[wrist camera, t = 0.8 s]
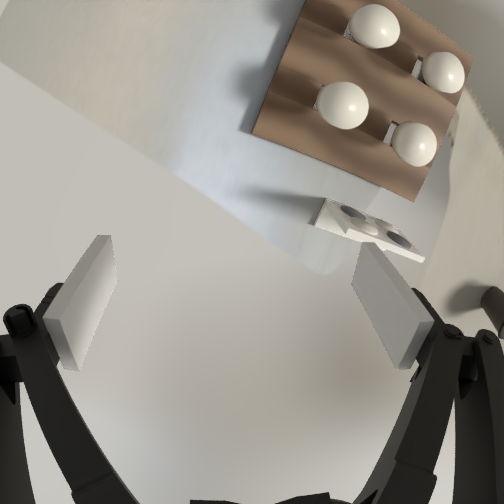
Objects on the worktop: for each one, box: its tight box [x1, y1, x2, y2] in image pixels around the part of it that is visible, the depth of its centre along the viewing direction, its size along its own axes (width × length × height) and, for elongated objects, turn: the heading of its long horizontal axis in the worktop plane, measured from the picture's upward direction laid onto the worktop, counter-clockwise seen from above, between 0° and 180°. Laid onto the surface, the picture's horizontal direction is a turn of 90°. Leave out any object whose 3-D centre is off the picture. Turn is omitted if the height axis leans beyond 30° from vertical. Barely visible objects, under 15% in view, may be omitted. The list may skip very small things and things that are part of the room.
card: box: [314, 198, 425, 263], centre depth 39 cm, size 4×12×9 cm, turn 70°
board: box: [251, 0, 473, 202], centre depth 33 cm, size 24×24×1 cm
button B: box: [421, 52, 465, 93], centre depth 29 cm, size 5×5×4 cm
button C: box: [316, 82, 369, 129], centre depth 31 cm, size 5×5×4 cm
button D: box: [392, 121, 437, 167], centre depth 33 cm, size 5×5×4 cm
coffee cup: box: [481, 287, 504, 339], centre depth 49 cm, size 8×8×10 cm
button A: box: [349, 4, 400, 49], centre depth 27 cm, size 5×5×4 cm
